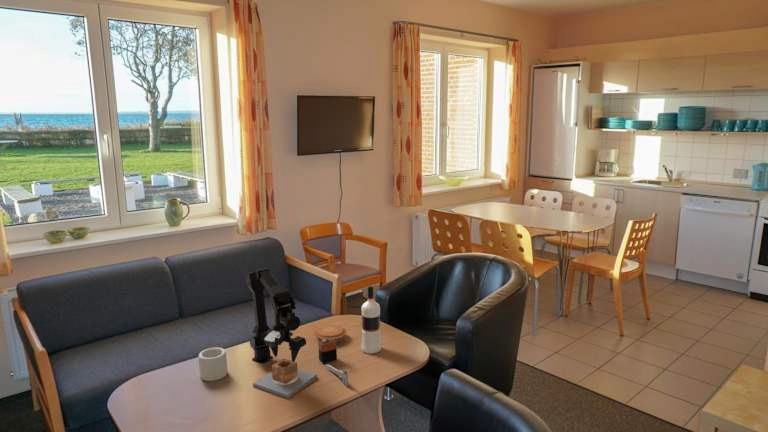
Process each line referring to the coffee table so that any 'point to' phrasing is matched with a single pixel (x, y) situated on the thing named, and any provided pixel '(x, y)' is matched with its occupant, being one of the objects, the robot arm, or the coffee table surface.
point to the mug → (212, 364)
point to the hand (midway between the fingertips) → (284, 358)
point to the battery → (327, 350)
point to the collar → (284, 371)
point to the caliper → (339, 374)
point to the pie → (330, 333)
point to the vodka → (371, 325)
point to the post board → (282, 388)
